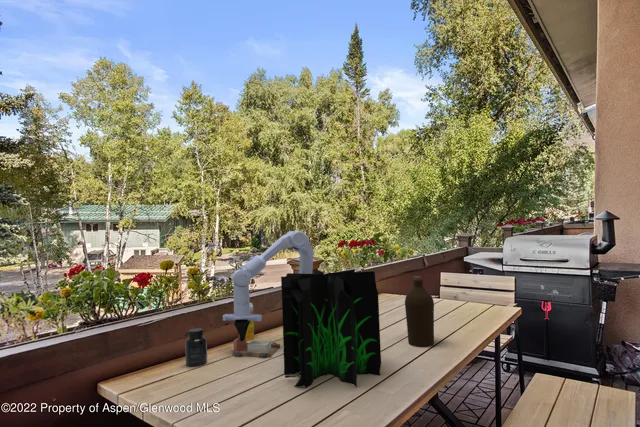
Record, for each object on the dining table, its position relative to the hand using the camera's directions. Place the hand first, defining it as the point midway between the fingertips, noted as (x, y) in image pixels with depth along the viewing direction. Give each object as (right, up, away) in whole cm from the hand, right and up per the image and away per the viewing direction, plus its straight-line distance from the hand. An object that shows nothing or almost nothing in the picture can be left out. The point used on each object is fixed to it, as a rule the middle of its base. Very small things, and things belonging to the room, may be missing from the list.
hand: (242, 340), depth 136 cm
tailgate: (-1, -4, 0) cm, 4 cm away
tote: (+6, -4, -2) cm, 7 cm away
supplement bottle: (-13, -5, -11) cm, 18 cm away
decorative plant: (+32, -3, -19) cm, 38 cm away
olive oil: (+66, -3, +5) cm, 66 cm away
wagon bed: (+5, -5, -1) cm, 7 cm away
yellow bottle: (-2, -6, +16) cm, 17 cm away
